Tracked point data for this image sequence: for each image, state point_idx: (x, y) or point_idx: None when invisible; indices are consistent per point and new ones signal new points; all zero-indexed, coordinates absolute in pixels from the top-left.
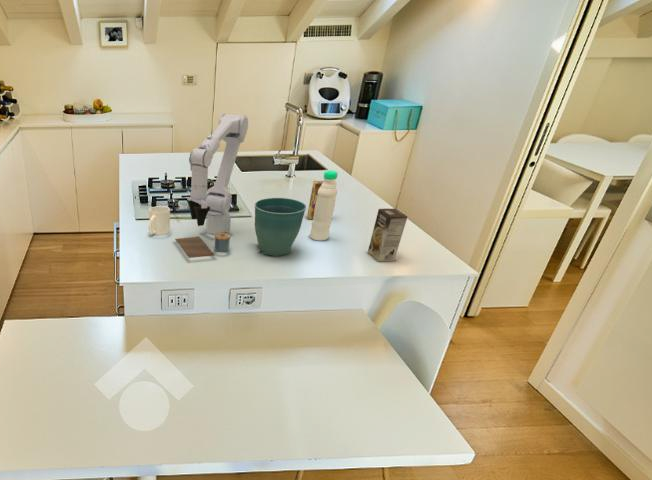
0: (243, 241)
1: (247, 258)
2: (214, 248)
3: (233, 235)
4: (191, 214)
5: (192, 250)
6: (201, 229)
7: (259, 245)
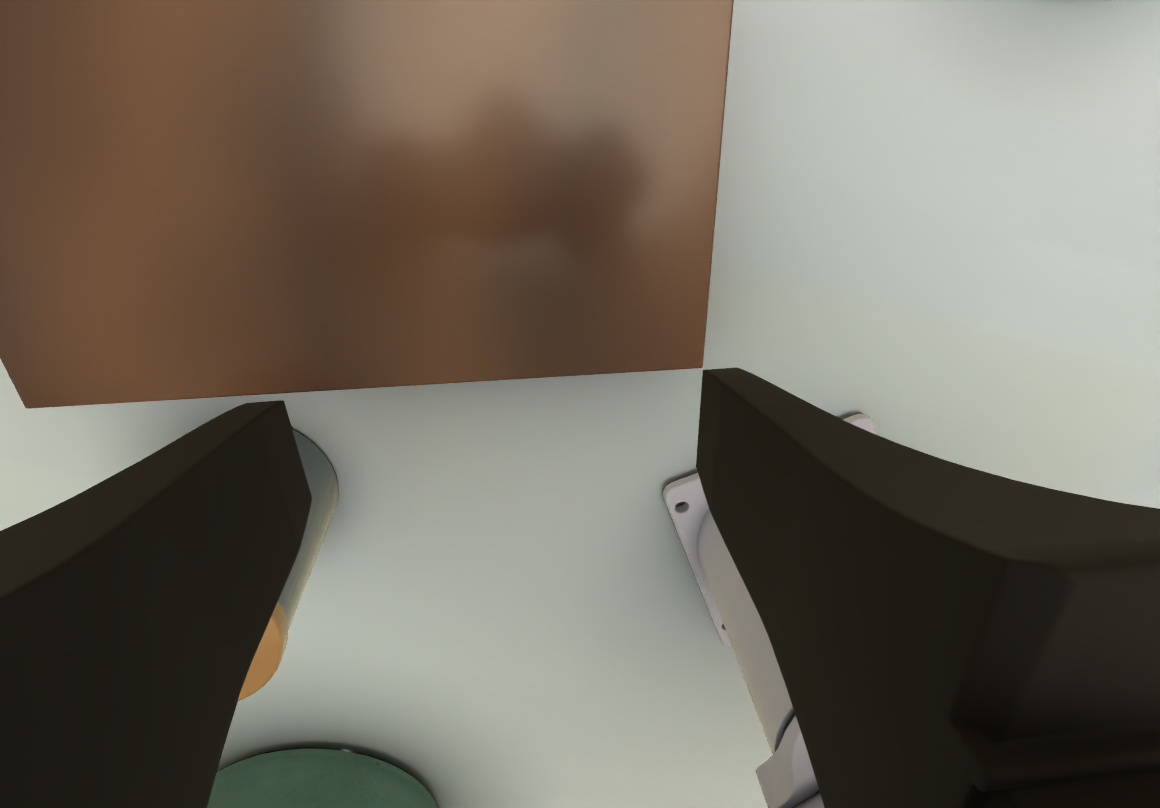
0: (547, 689)
1: None
2: None
3: (708, 651)
4: (742, 403)
5: (188, 155)
6: (985, 441)
7: (265, 796)
